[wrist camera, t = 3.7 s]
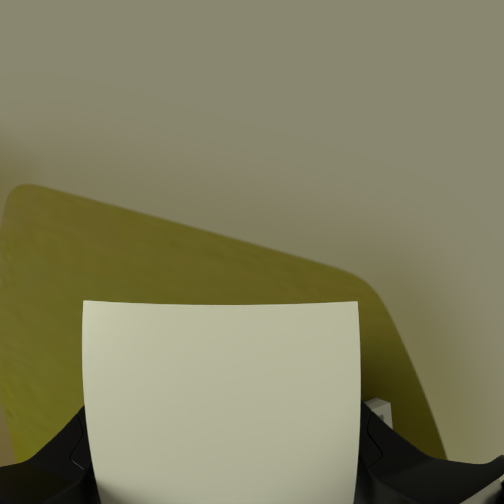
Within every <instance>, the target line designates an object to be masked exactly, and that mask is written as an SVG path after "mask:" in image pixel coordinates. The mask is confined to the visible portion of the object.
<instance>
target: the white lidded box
mask: <svg viewBox="0 0 504 504" xmlns="http://www.w3.org/2000/svg"><path fill="white" fill-rule="evenodd" d="M82 366H83V388H84V402H85V413H86V423H87V431H88V438H89V445H90V451H91V457H92V463H93V468H94V473H95V478H96V483H97V487H98V492H99V496H100V500H101V504H353V501H354V493H355V484H356V474H357V463H358V449H359V432H360V399H361V369H360V335H359V316H358V301H354V302H335V303H313V304H281V305H170V304H139V303H117V302H99V301H84V302H83V324H82Z"/></svg>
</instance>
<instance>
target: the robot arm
mask: <svg viewBox="0 0 504 504" xmlns="http://www.w3.org/2000/svg"><path fill="white" fill-rule="evenodd" d="M503 474H504V455H500V456H499V457H497V458H496V459H494V460H493V461H491V462H489V463H486V464H470V463H462V462H455V461H449V460H443V459H437V458H433V457H431V456H428V455H426V454H425V453H423V452H421V451H420V450H419V449H417V448H416V447H415V446H413V445H412V444H411V443H409V442H408V441H407V440H405V439H404V438H403V437H402V436H400V435H399V434H398V433H396V432H395V431H394V430H393V429H392V428H390V427H389V426H388V425H387V424H386V423H385V422H384V421H383V420H382V419H381V418H380V417H378V416H377V415H376V414H375V413H374V412H373V411H372V410H371V409H370V408H369V407H368V406H367V405H366V404H365V403H364V402H363V401H362V400H361V399H360V432H359V449H358V463H357V474H356V484H355V493H354V501H353V504H504V480H503V481H502V482H500V481H499V477H501V476H502V475H503ZM0 504H101V500H100V496H99V492H98V487H97V483H96V478H95V473H94V468H93V463H92V457H91V451H90V445H89V438H88V431H87V423H86V413H85V405H84V406H83V407H82V408H81V409H80V410H79V411H78V414H76V415H75V416H74V417H73V418H72V419H71V420H70V422H69V423H68V424H67V425H66V426H65V427H64V428H63V429H62V430H61V431H60V432H59V433H58V434H57V435H56V436H55V437H54V438H53V439H52V440H51V441H49V442H48V443H47V444H46V445H45V446H44V447H43V448H42V449H41V450H40V451H38V452H37V453H36V454H35V455H34V456H33V457H31V458H30V459H28V460H26V461H24V462H22V463H18V464H13V465H8V466H3V467H0Z"/></svg>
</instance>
